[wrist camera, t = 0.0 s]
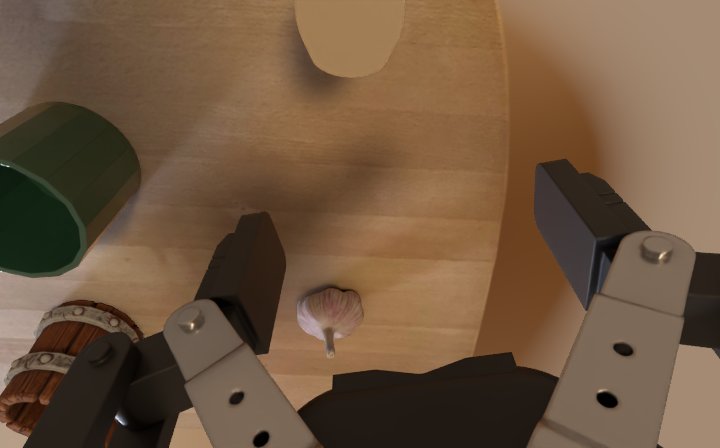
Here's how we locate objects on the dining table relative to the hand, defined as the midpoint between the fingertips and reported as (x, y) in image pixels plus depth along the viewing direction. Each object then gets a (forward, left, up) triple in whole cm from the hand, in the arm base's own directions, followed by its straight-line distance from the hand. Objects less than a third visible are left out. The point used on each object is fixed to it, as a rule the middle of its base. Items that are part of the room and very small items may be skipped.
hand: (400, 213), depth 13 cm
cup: (+18, -23, -25) cm, 39 cm away
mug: (+43, -21, -25) cm, 54 cm away
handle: (-4, -3, -25) cm, 26 cm away
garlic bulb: (+29, +4, -25) cm, 39 cm away
